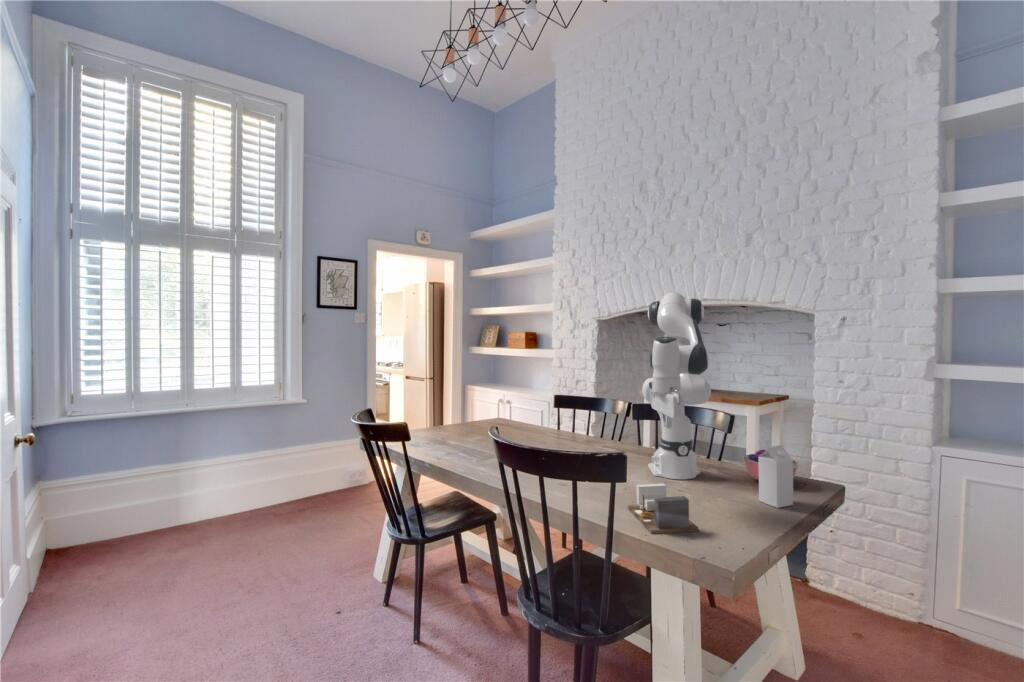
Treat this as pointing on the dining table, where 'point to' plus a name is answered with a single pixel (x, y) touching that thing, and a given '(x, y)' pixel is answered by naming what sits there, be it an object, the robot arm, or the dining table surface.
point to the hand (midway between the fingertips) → (667, 427)
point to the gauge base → (652, 524)
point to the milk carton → (776, 477)
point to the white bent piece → (650, 494)
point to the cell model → (753, 464)
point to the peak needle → (643, 509)
